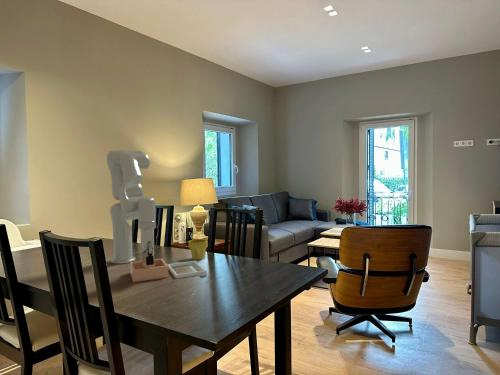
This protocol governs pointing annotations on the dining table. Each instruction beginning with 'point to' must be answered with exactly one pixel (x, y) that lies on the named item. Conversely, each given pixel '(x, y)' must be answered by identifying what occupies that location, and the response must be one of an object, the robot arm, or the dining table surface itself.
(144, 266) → the maple peg
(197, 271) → the grey tray
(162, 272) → the peach square hollow box
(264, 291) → the dining table surface
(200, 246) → the plant pot
